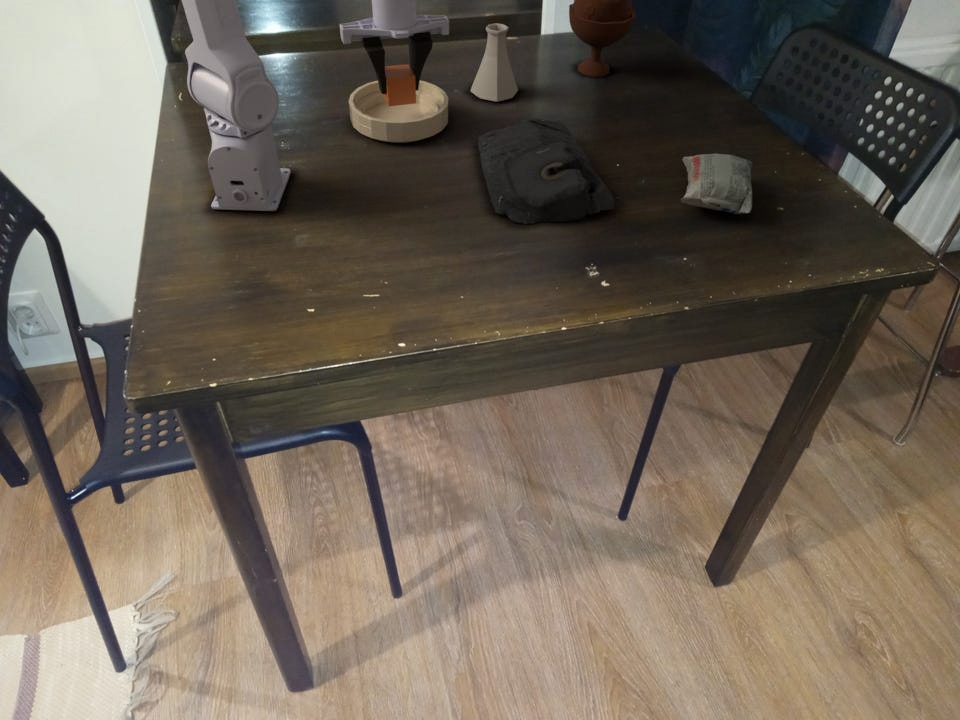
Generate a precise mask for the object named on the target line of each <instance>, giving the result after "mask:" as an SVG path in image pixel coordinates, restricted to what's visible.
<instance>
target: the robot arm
mask: <svg viewBox="0 0 960 720" xmlns="http://www.w3.org/2000/svg"><path fill="white" fill-rule="evenodd" d="M181 3H182V6H183V10H184V13H185V14H184V15H185V16H186V17H185V18H186V20H187V24H188V26H189V30H190V34H191V36H192V42H191V43H190V44H189V45H188V46H187V48H185V51H184V54H185V57H186V61H187V67H188V68H187V77H186V83H187V84H186V85H187V90H188V92H189V94H190V96H191V98H192V99H193V101H194V102H196V103H197V104H198V105H199V106H201V107H203V111H204V114H205V118H206V123H207V127H208V131H209V134H210V138H211V139H210V140H211V148H210V151H209V155H208V158H207V168H208V171H209V175H210V179H211V183H212V185H213V186H212V187H213V190H214V193H215V196H214V199H213V200H212V202H211V205H210V207H211V209H212V210H222V211H223V210H224V211H227V210H228V211H257V212H258V211H260V212H275V211H277V210H278V209H279V206H280V203H281V200H282V197H283V195H284V192H285V190H286V187H287V184H288V182H289V179H290V176H291V173H292V170H291V169H290V168H286V167H281V166H280V161H279V156H278V151H277V146H276V141H275V135H274V130H273V127H274V123H273V122H274V120H275V119H276V117H277V115H278V112H279V108H280V107H279V106H280V100H279V99H280V98H279V97H280V96H279V93H278V90H277V87H276V86H275V85H274V84H273V82H272V81H271V80H270V79H269V77H268V75H267V73H266V70H265V66H264V62H263V60H262V59H261V57H260V56H259V54H258V53H257V51H256V50H255V49H254V47H252V45H251V43H250V41H248V39H247V37H246V33H245V29H244V25H243V22H242V17H241V13H240V10H239V6H238V1H237V0H181ZM371 9H372V17H369V18H365V19H360V20H355V21H351V22H344V23H339V32H340V39H341V42H342V43H343V45H351V44H352V42H361V44H362V46H363V47H364V49H365V52H366V53H367V55H368V57H369V60H370V62H371V64H372V68H373V69H374V73H375V76H376V81H378V84H379V89H380V91H381V93H382V94H387V87H386V77H385V67H386V50H385V49H384V47H383V42H382V41H381V40H382V39H383V40H384V39H396V40H397V39H407V45H408V56H409V66H410V68H411V70H412V71H413V73H414V75H415V85H416V91H417V90H418V88H419V82H420V80H421V77H422V73H423V69H424V66H425V64H426V61H427V59H428V57H429V55H430V54H431V51H432V50H433V42H434V41H433V39H432V38H431V35H437V34H438V35H441V36H448V35H450V19H449V18H448V17H447V16H446V15H445V14H442V15H440V14H439V15H435V14H434V15H433V14H417V1H416V0H371Z"/></svg>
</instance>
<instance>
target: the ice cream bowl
mask: <svg viewBox="0 0 960 720" xmlns="http://www.w3.org/2000/svg"><path fill="white" fill-rule="evenodd" d="M568 17H569V18H568V19H569V25H570V28H571V31H572V32H573V33H574V35H575V36H576V37H577V39H579V40H580V41H581V42H583V43H584V44H586V45H588V46H590V49H591V50H590V51H591V52H590V57H589V58H588V59H586V60H584V61H582V62H580V63H579V64H578V65H577V72H579V73H580V74H582V75H584V76H588V77H593V78H596V77H597V78H598V77H605V76H607V75H608V74H609V75H610V65H609V64H608V63H606V62H604V61H603V60H602V59H601V57H602V51H603V49H604V48H607V47H610V46H611V45H614V44H615V43H617V42H620V41H621V40H622V39H624V37H626V36H627V35H629V33H630V32H631V30H632V29H633V27H634V24H635V22H636V20H637V19H636V18H637V14H636V9H635V8H633V4H632V1H631V0H573V3H571V4H569V5H568Z"/></svg>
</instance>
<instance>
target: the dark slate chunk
mask: <svg viewBox="0 0 960 720" xmlns="http://www.w3.org/2000/svg"><path fill="white" fill-rule="evenodd" d="M477 143H478V145H477V148H478V150H479V155H480V156H479V158H480V162H481V169H482V172H483V173H482V174H483V178H484V179H485V183H486V186H487V187H486V188H487V192H488V194H489V196H490V203H492V207H493V210H494V212H495V213H496V214H498V215H500V216H503V217H507V218H508V219H510V221H511V223H513V224H523V225H528V224H532V225H534V224H535V223H538V222H550V223H554V222H555V223H556V222H558V223H562V222H569V221H577V220H582V219H584V218H585V217H587V216H594V215H595V214H597V213H599V214H600V211H608V210H614V207H615V203H616V202H615V201H616V200H615V198H614V197H613V194H612V192H611V190H610V189H609V188H608V187H607V185H606V183H605V182H604V181H603V180H602V179H601V178H600V176H599V175H598V174H597V173H596V171H594V169H593V168H592V166H591V162H590V160H589V159H588V156H587V155H586V153H585V152H584V151H583V150H582V149H581V147H580V145H579V143H578V142H576V140H575V139H574V137H573V136H572V133H571V131H570V130H569V128H568V127H567V126H566V124H565V123H563V122H561V121H559V120H548V119H544V120H543V119H541V118H540V119H538V118H529V119H525V120H522V121H519V122H516V123H512V124H510V125H508V126H506V127H503V128H498V129H494V130H490V131H488V132H487V133H483V134H482V135H480V136H478V138H477ZM589 191H590V192H589Z"/></svg>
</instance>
